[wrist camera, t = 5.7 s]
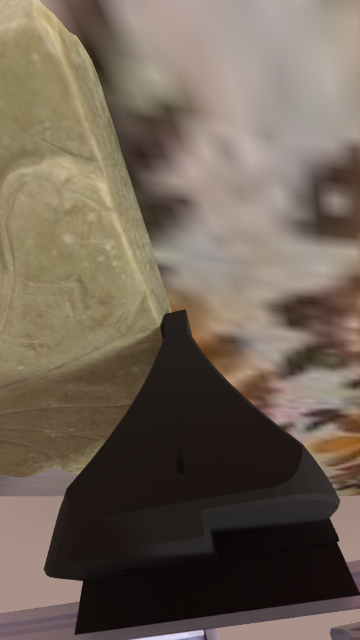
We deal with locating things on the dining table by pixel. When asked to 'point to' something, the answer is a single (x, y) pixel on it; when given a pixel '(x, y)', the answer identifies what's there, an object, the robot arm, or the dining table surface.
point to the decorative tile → (66, 254)
